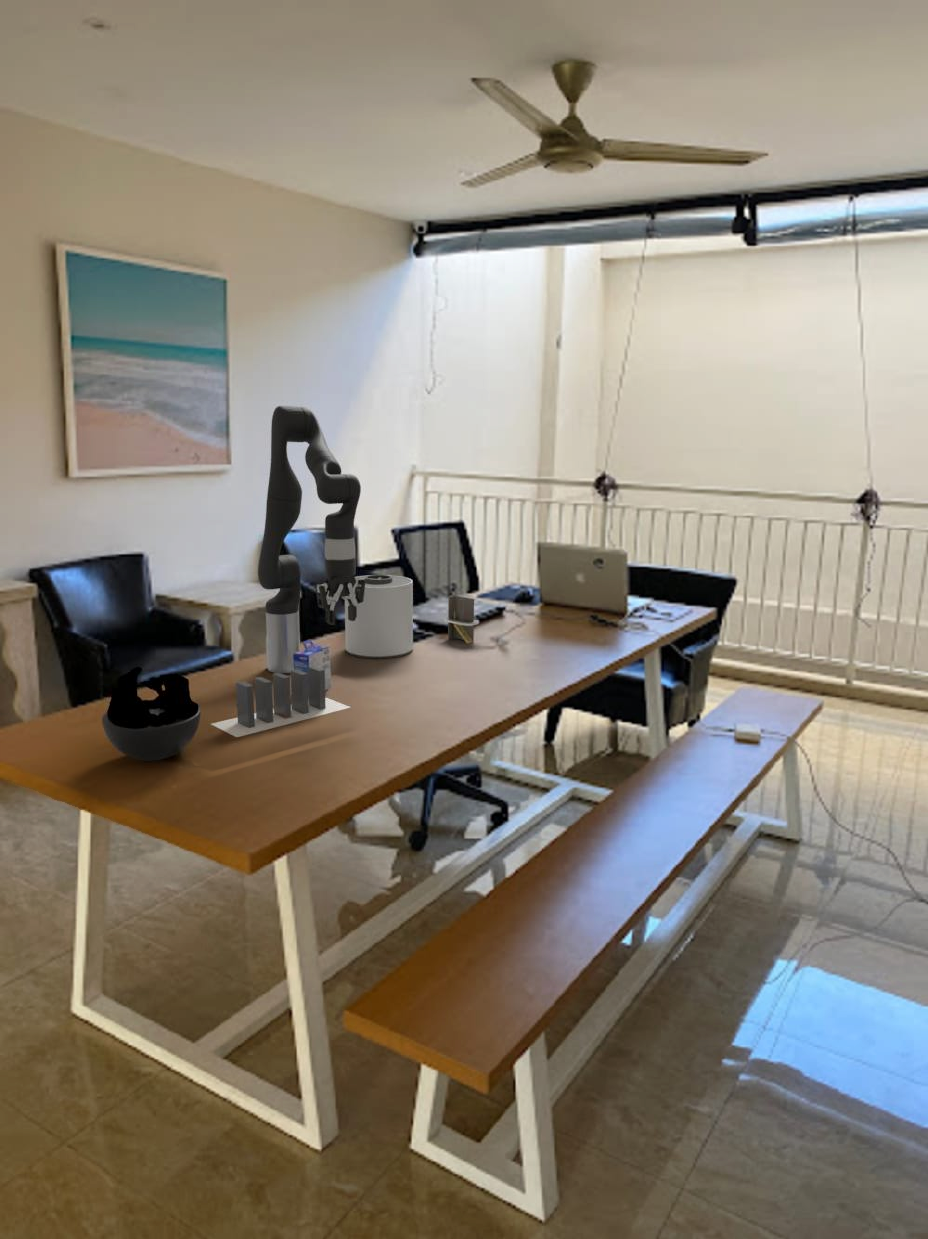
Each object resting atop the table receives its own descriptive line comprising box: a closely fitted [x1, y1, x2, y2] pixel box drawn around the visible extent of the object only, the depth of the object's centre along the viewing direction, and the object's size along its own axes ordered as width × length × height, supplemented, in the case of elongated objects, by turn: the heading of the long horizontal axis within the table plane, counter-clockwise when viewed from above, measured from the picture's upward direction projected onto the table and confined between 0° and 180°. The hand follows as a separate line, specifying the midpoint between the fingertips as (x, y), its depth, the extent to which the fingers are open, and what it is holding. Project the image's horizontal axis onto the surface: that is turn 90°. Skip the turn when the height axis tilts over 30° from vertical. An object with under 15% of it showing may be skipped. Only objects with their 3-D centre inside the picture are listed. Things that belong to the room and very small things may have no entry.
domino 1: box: [235, 680, 255, 728], centre depth 213 cm, size 2×5×10 cm, turn 44°
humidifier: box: [340, 574, 414, 660], centre depth 283 cm, size 22×21×23 cm
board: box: [210, 696, 351, 738], centre depth 221 cm, size 12×32×1 cm, turn 133°
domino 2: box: [254, 676, 274, 723], centre depth 216 cm, size 2×5×10 cm, turn 44°
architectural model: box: [442, 594, 480, 644], centre depth 297 cm, size 20×25×15 cm
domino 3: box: [272, 673, 292, 718], centre depth 220 cm, size 2×5×10 cm, turn 44°
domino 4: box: [290, 669, 309, 714], centre depth 223 cm, size 2×5×10 cm, turn 43°
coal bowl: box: [101, 666, 202, 762], centre depth 194 cm, size 20×20×19 cm
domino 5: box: [308, 666, 326, 710], centre depth 226 cm, size 2×5×10 cm, turn 43°
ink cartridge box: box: [293, 638, 332, 698], centre depth 239 cm, size 10×6×14 cm, turn 155°
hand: (341, 622), depth 228 cm, fingers open, 5 cm apart
